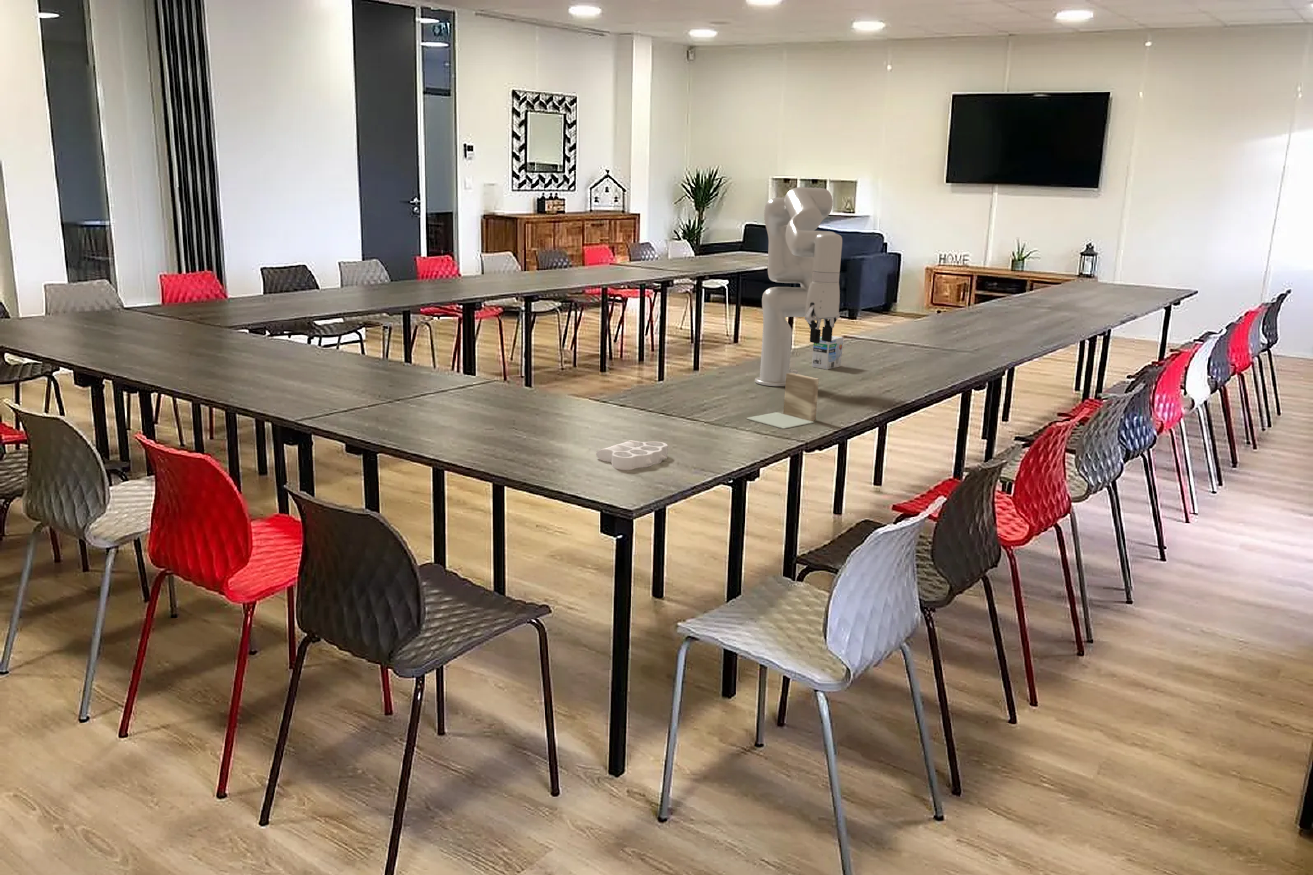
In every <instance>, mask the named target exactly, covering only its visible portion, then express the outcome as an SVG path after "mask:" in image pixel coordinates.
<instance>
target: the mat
mask: <svg viewBox="0 0 1313 875" xmlns="http://www.w3.org/2000/svg"><path fill="white" fill-rule="evenodd" d="M745 419H746V420H748V421H751V422H755V423H759V424H763V425H766V426H771V427H774V428H777V429H781V430H785V429H790V428H795V427H800V426H801V427H802V426H806V425H810V424H814V423H815V422H814V421H808V420H805V419H801V418H797V417H793V416H789V415H785V414H783V413H781V412H777V411H775V412H771V413H765V414H760V415H755V416H749V417H745Z"/></svg>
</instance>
